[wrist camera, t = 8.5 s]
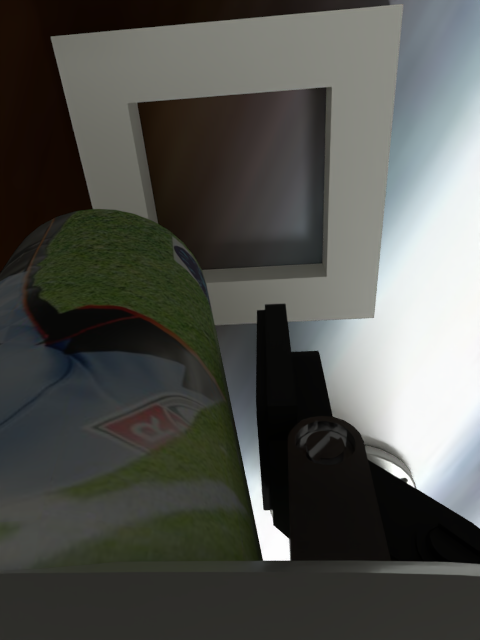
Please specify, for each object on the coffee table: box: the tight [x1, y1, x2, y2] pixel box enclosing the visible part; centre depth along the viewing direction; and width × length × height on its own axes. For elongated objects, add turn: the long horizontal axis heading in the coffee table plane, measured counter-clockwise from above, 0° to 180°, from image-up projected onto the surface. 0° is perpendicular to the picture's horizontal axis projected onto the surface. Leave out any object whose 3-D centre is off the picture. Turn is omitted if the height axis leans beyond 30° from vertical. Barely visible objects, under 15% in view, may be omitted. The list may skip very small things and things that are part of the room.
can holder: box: [51, 4, 403, 325], centre depth 25 cm, size 16×16×2 cm
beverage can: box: [0, 209, 263, 571], centre depth 10 cm, size 6×7×12 cm
